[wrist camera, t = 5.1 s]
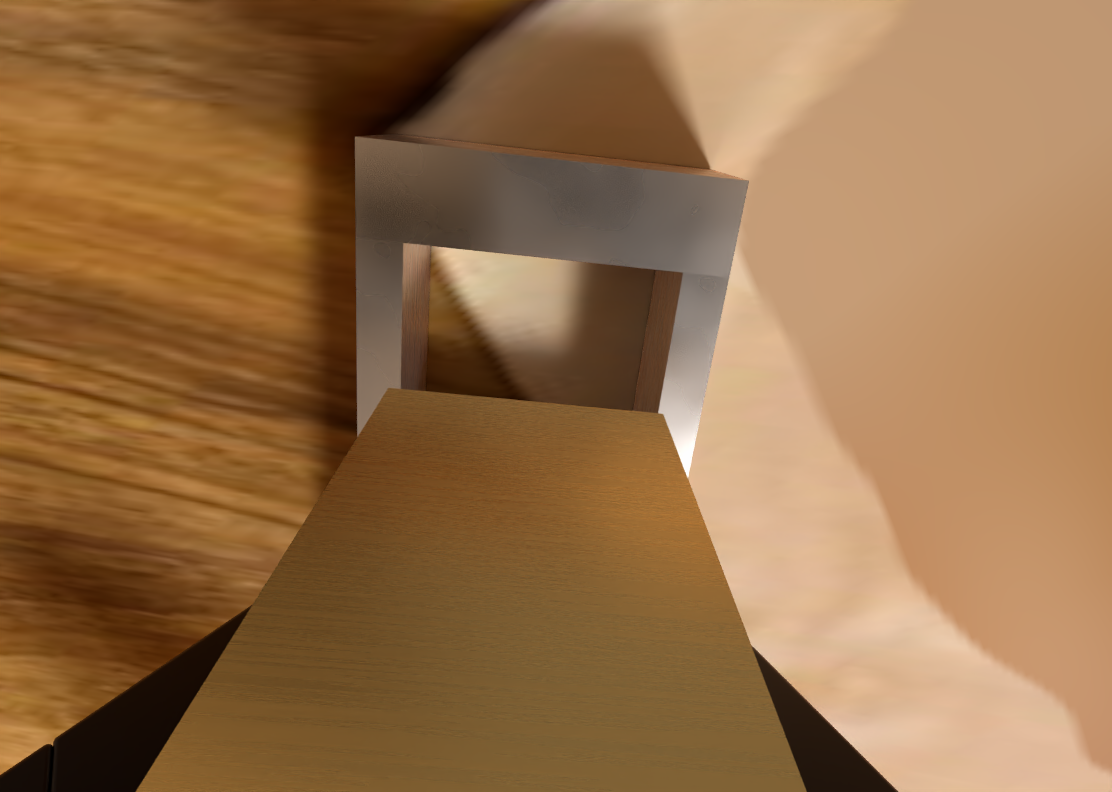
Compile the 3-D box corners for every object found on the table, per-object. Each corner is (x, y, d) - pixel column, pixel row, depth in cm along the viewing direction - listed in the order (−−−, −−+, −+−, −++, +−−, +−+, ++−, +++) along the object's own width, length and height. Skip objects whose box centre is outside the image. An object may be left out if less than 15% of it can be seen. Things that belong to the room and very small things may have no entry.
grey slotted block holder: (613, 701, 24) (635, 919, 17) (386, 682, 23) (322, 898, 17) (712, 169, 17) (809, 198, 10) (394, 133, 17) (290, 141, 10)
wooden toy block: (386, 610, 11) (149, 1296, 5) (387, 387, 10) (41, 942, 3) (624, 629, 11) (720, 1317, 5) (663, 413, 10) (880, 990, 3)
